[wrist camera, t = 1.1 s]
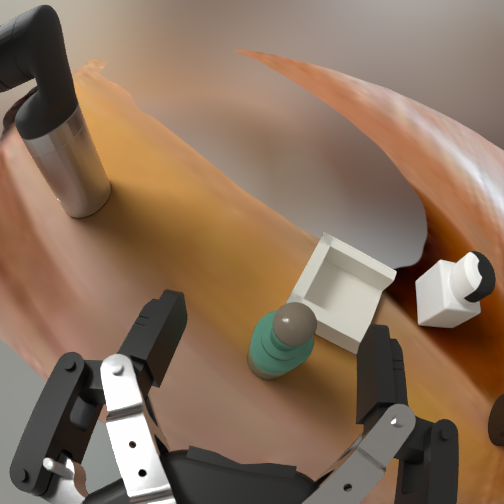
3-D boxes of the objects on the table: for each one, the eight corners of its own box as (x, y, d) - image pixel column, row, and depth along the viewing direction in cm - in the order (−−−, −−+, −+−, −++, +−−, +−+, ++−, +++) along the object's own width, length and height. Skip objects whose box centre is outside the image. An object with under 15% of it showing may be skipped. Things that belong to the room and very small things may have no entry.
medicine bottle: (448, 286, 40) (494, 249, 29) (452, 328, 36) (505, 299, 26) (414, 280, 40) (459, 239, 29) (416, 325, 36) (469, 293, 26)
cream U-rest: (280, 314, 36) (285, 302, 32) (315, 249, 41) (324, 232, 37) (355, 354, 34) (369, 347, 30) (382, 285, 39) (396, 271, 35)
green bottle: (238, 366, 33) (242, 336, 19) (260, 330, 35) (279, 275, 21) (277, 387, 32) (312, 373, 18) (298, 350, 34) (343, 308, 20)
